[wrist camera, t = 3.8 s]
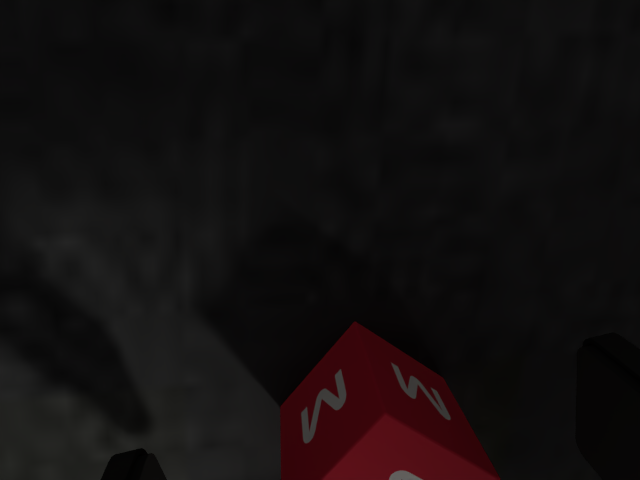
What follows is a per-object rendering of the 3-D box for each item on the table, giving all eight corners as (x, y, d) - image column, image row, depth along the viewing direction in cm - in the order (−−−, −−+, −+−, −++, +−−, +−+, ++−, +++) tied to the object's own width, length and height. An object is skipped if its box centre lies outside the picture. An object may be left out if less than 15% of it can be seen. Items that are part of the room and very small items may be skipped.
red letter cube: (354, 319, 10) (385, 412, 7) (443, 377, 11) (502, 480, 8) (279, 404, 10) (280, 521, 8) (369, 452, 11) (399, 573, 9)
